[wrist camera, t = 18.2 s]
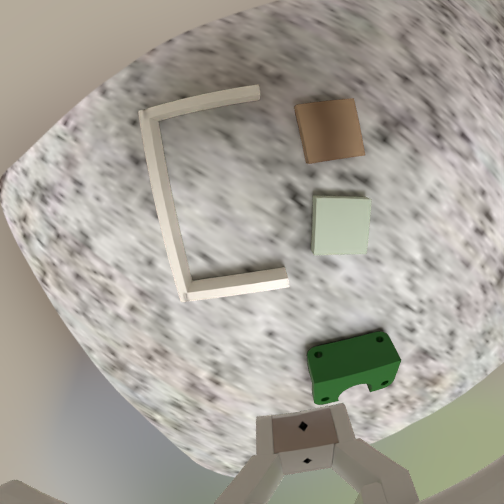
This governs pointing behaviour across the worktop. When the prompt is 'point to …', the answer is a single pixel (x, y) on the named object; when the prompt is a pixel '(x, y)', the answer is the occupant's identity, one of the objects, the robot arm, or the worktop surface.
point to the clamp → (352, 365)
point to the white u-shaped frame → (166, 207)
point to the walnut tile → (329, 130)
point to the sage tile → (340, 225)
